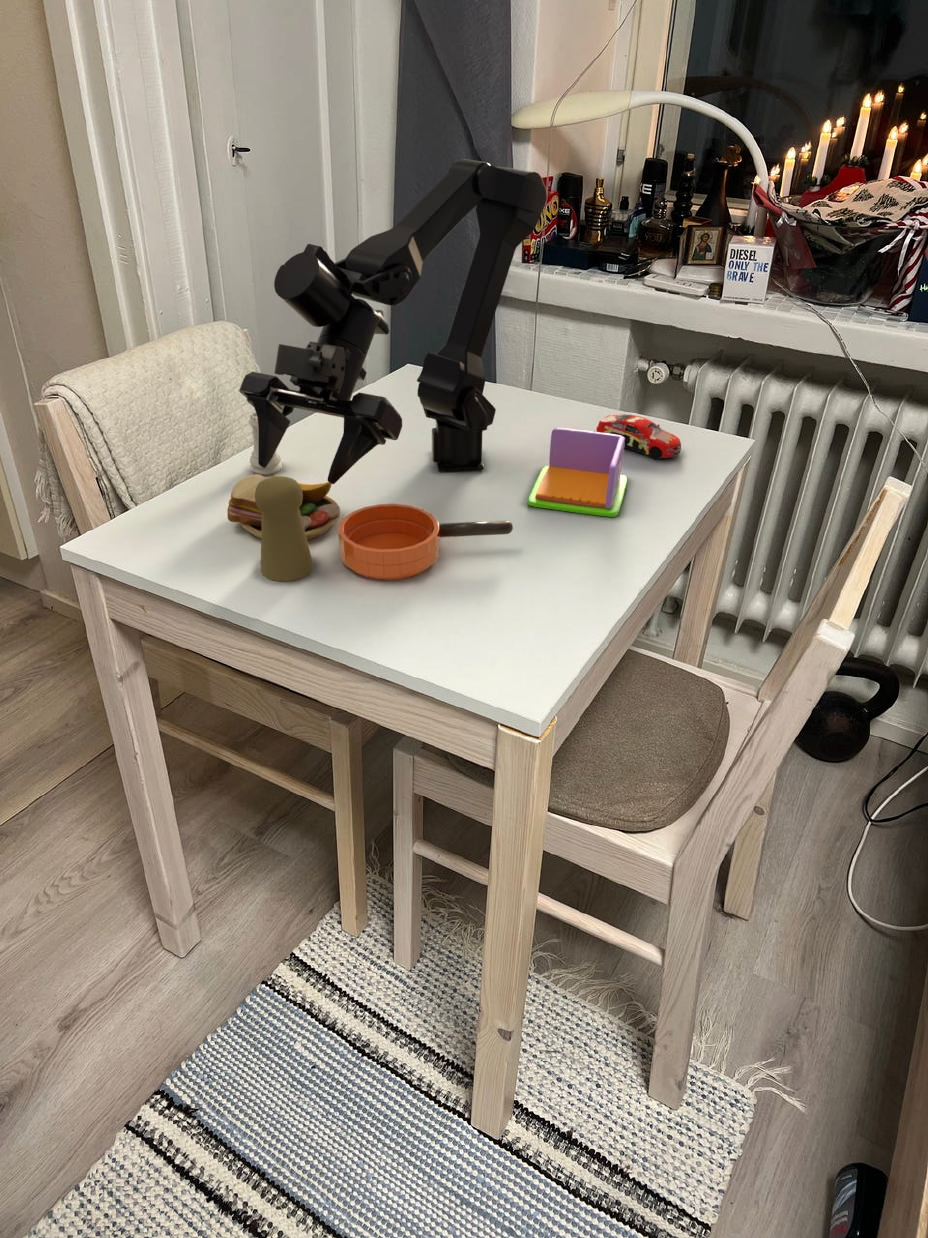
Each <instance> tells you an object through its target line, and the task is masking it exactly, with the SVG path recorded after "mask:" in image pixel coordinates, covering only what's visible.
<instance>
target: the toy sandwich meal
mask: <svg viewBox="0 0 928 1238" xmlns="http://www.w3.org/2000/svg"><path fill="white" fill-rule="evenodd" d="M275 476H276V475H273V476H272V477H275ZM267 478H268V477H266V476H264V475H259V474H256V473H254V474H251V475H248V476H246V477H244V478H242V479H240V480H239V481H238V482H237V483H236V484H235V485H234V486H233V487H232V490H231V493H230V499H229V500H228V506H227V512H226V513H227V520H228V522H230V523H239V524H240V525H241V526H242V528H243V529H245V531H247V532H249V533H250V534H252V535H253V536H255V537H256V538H259V539H261V528H262V511H261V510H260V509H259V508H258V506H257V504H256V502H255V490H256V487H257V485H258V484H259V483H260V482H261V481H263V480H265V479H267ZM298 484H299V485H300V486H301V489H302V493H303V500H302V504H301V506H300V507H299V510H300V514H301V518H302V522H303V526H304V530H305V534H306V538H307V540H311V539H314V538H316V537H319V536H321V535H323V534H325V533H326V532H328V530H330V529H331V528H332V527H333V526H334V525H335V524H336V523H337V521H338V520H339V518H340V516H341V507H340V505H339V504H338V503H337V502H336V501H335V500H334V499H332V497H329V496H328V494H329V492H330V491H331V488H332V485H333V484H330V483H329V482H328V481H327V482H324V483H316V484H315V483H313V484H308V483H307V484H306V483H299V482H298Z"/></svg>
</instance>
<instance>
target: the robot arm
mask: <svg viewBox="0 0 928 1238" xmlns="http://www.w3.org/2000/svg"><path fill="white" fill-rule="evenodd" d="M547 199H548V189H547V186H546V185H545V182H544V180H543V176H542V175H541V174H540V173H539V172H536V171H531V170H525V169H519V168H512V167H505V166H499V165H498V166H494V165H491V163H488V162H487V161H481V160H473V159H468V158H467V159H466V158H460V159H458V160H456V161H454V162H453V163H452V164H451V165H450V167H449V169H448V172H447V173H446V174H445V176H444V177H443V178H442V179H441V180H439V182H437V183H436V185H435V186H433V188H431V189H430V191H429V192H427V194H426V195H425V196H424V197H422V199H421V200H420V201H419V202H418V203H417V204H416V205H414V207H413V208H412V209H410V211H409V212H408V213H407V214H406V215H405V216H404V217H403V218H402V219H401V220H399V222H397V224H396V225H394V226H393V227H391V228H390V229H388V230H385V231H382V232H379V233H376V234H374V235H371V236H369V237H368V238H366V239H365V240H363V241H362V242H361V243H359V244H357V245H356V246H354V247H353V248H352V249H350V251H349V252H348V254H347V256H346V257H345V258H343V259H340V260H338V261H336V262H334V261H333V260H332V259H331V257H330V255H329V254H328V252H327V251H326V250H325V248H323V247H322V246H321V245H317V244H313V243H307V244H306V246H305V248H304V249H303V251H302V252H299V253H296V254H294V255H293V256H291V257H289V259H288V260H287V261H285V263H284V264H281V265H280V266H279V267H278V270H277V272H276V274H275V277H274V281H273V288H274V292H275V293H276V295H277V296H278V297H279V298H280V299H281V300H282V301H283V302H284V303H286V305H288V306H289V307H290V308H291V309H292V310H293V311H295V312H296V313H297V314H298V315H299V316H300V317H301V318H302V319H304V321H306V322H307V323H308V324H309V325H311V327H315V328H321V331H320V333H319V336H318V338H317V342H315V341H309V343H308V344H307V345H306V347H305V348H304V347H298V346H293V345H289V344H288V345H287V344H282V343H279V344H278V346H277V353H276V360H275V367H274V371H273V372H274V375H272V374H267V373H261V372H257V371H251V372H249V373H247V374H245V376H244V377H243V379H242V381H241V383H240V386H239V389H238V392H239V393H240V394H242V395H243V396H244V397H245V398H246V402H247V403H248V404H250V406H252V407H253V408H254V412H256V414H257V418H258V428H259V445H258V464H259V465H260V466H261V467H263V468H266V466H267V465H268V463H269V462H270V461H271V459H272V457H273V455H274V453H275V451H277V449H278V447H279V446H280V443H281V441H282V440H283V437H284V435H285V433H286V432H287V430H288V428H289V426H290V424H291V420H290V419H289V418H288V417H287V416H289V415H290V414H292V413H293V412H294V409H298V410H304V411H309V412H314V413H318V414H323V415H328V416H332V417H336V418H337V417H338V418H342V419H343V433H342V436H341V439H340V442H339V444H338V447H337V449H336V452H335V455H334V457H333V460H332V462H331V464H330V467H329V470H328V476H327V482H329V483H330V484H332V485H335V484H336V483H337V482H338V481H339V480H340V479H341V478H342V477H343V476H344V475H345V474H346V473H347V472H348V471H349V470H350V469H351V468H352V467H353V466H354V465H356V463H358V462H359V461H360V460H361V459H362V458H363V457H364V456H366V455H367V454H368V453H369V452H371V451H372V450H373V449H375V448H376V447H377V446H379V445H381V446H384V445H386V443H387V440H391V441H397V440H398V439H399V437H400V434H401V432H402V428H403V418H402V416H401V414H400V413H399V412H398V410H397V409H396V408H395V406H394V405H393V404H392V403H391V402H390V401H389V400H388V398H387V397H386V396H385V397H384V396H380V395H375V394H370V393H365V392H358V393H356V394H354V392H355V388H356V386H357V383H358V381H359V380H360V381H365V379H366V375H367V374H368V372H367V371H366V369H364V367H363V366H364V364H365V361H366V358H367V355H368V353H369V349H370V347H371V344H372V342H373V339H374V336H375V335H389V334H390V327H389V324H388V323H387V321H386V319H385V315H384V310H382V309H374V308H373V307H372V306H371V304H369V303H368V301H366V300H369V301H371V302H374V303H375V302H376V303H379V304H383V305H387V306H392V307H393V306H394V307H396V306H399V305H400V304H401V303H403V302H404V301H406V299H407V298H408V296H409V295H410V293H411V292H412V291H413V289H414V288H415V286H416V285H417V283H418V282H419V280H420V279H421V277H422V270H423V264H424V262H425V260H426V259H427V257H428V256H429V255H430V254H431V253H432V252H433V251H434V249H436V248H437V247H438V246H439V245H440V244H441V243H442V241H443V240H445V238H446V237H447V236H448V235H449V234H450V233H451V232H452V231H453V230H454V229H455V228H457V226H458V225H459V224H460V223H461V222H462V221H463V220H464V219H465V218H466V217H467V216H468V214H470V213H471V211H472V210H473V209H474V208H475V216H476V220H477V221H476V222H477V226H478V231H479V232H478V233H479V235H478V240H477V243H476V245H475V249H474V253H473V255H472V256H473V257H472V259H471V262H470V265H469V269H468V272H467V275H466V278H465V281H464V285H463V288H462V290H461V294H460V297H459V301H458V304H457V306H456V310H455V313H454V317H453V319H452V324H451V326H450V329H449V333H448V336H447V339H446V342H445V344H444V345H443V346H442V347H441V348H440V349H439V350H438V351H437V352H436V353H434V352H430V351H429V352H427V353H426V355H425V356H424V359H423V365H422V368H421V372H420V374H419V376H418V377H417V379H416V382H417V383H418V387H417V397H418V398H419V401H420V402H419V403H420V404H421V406H422V409H423V412H424V415H425V418H428V419H432V420H435V427H432V428H431V457H432V461H433V463H435V464H436V469H437V471H438V472H460V471H461V472H462V471H482V470H484V469H485V465H484V461H483V432H484V431H487V430H488V427H489V426H491V425H493V423H494V419H495V415H496V411H497V410H496V409H497V408H496V407H495V406H494V405H493V404H492V403H491V401H489V400H488V399H487V397H486V396H484V394H483V393H484V390H485V384H486V374H485V368H484V364H483V359H482V357H483V356H482V355H483V351H484V349H485V346H486V342H487V339H488V337H489V333H490V330H491V327H492V324H493V321H494V318H495V314H496V311H497V309H498V306H499V301H500V299H501V296H502V293H503V289H504V287H505V284H506V280H507V277H508V275H509V272H510V268H511V265H512V262H513V259H514V256H515V253H516V250H517V248H518V247H519V245H521V244H522V243H523V242H524V241H525V239H527V238H528V236H530V235H531V234H532V233H533V231H535V229H536V227H537V224H538V223H539V221H540V218H541V216H542V214H543V211H544V210H545V209H544V208H545V206H546V203H547ZM354 296H355V297H357V298H355V297H354ZM364 299H365V300H364ZM277 375H279V376H284V375H286V376H289V377H290V378H289V382H291V384H292V385H293V386H297V387H298V388H299V390H295V389H290V388H289V387H288V386H287V385H286V384H285V383H284V382H283V381H282V380H281V379H280V378H279V377H278V376H277ZM353 394H354V395H353Z"/></svg>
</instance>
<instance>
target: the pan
mask: <svg viewBox="0 0 928 1238" xmlns="http://www.w3.org/2000/svg"><path fill="white" fill-rule="evenodd" d="M438 524H439V520H438V519H437V518H436V516H434V515H433V514H432V513H431V512H429V511H427V510H425V509H423V508H421V507H417V506H413V505H411V504H404V503H403V504H402V503H379V504H372V505H367V506H363V507H361V508H358V509H356V510H353V511H351V512H350V513H348V514H347V515H345V516H344V517H343V518H342V519H341V521H340V523H339V524H338V542H339V556H340V557H339V558H340V560H341V561H342V563H343V565H345V566H346V567H347V568H349V569H351V570H352V571H353V572H354V573H357V574H358V575H360V576H363V577H366V578H369V579H375V580H384V581H389V580H390V581H392V580H402V579H406V578H411V577H415V576H417V575H419V574H422V573H423V572H425V571H426V570H427V569H429V568H430V567H431V566H432V565H434V563H435V562H436V561H437V559H438V557H439V555H440V537H439V525H438ZM433 527H434V530H433V532H432V528H433Z"/></svg>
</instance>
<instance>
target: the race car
mask: <svg viewBox="0 0 928 1238" xmlns="http://www.w3.org/2000/svg"><path fill="white" fill-rule="evenodd" d="M660 426H661V425H660V424H656V422H653V421H652V420H650V419H648V418H645V417H642V416H638V415H634V414H609V415H606V416H604V417H603V418H601V419H600V420H599V422H598V424H597V426H596V431H595V432H601V433H609V434H616V435H621V436H623V437H624V438H625V444H624V449H629V450H632V451H635V452H638V453H641V454H644V455H648V456H650V457H651V458H652V459H653V460H657V461H658V460H660V459H668V458H673V457H675V456H679V454H680V453H681V450H682V442H681V440H680V438H679V437H678V436H677V435H675V434H673V433H672V432H669V431H666V430H664V429H662V428H661V427H660Z"/></svg>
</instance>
